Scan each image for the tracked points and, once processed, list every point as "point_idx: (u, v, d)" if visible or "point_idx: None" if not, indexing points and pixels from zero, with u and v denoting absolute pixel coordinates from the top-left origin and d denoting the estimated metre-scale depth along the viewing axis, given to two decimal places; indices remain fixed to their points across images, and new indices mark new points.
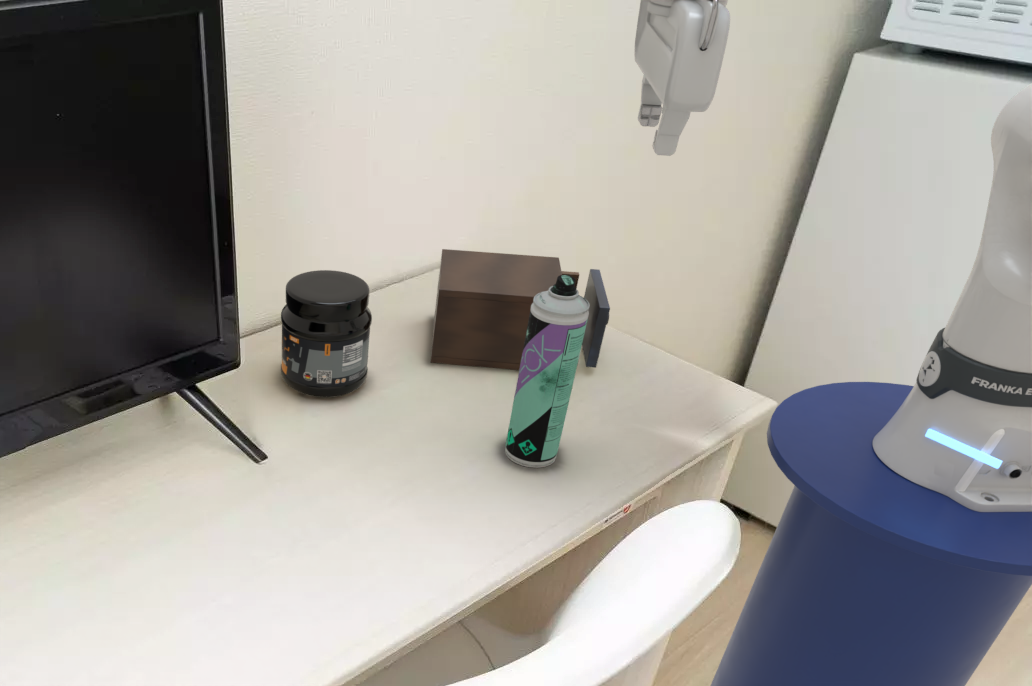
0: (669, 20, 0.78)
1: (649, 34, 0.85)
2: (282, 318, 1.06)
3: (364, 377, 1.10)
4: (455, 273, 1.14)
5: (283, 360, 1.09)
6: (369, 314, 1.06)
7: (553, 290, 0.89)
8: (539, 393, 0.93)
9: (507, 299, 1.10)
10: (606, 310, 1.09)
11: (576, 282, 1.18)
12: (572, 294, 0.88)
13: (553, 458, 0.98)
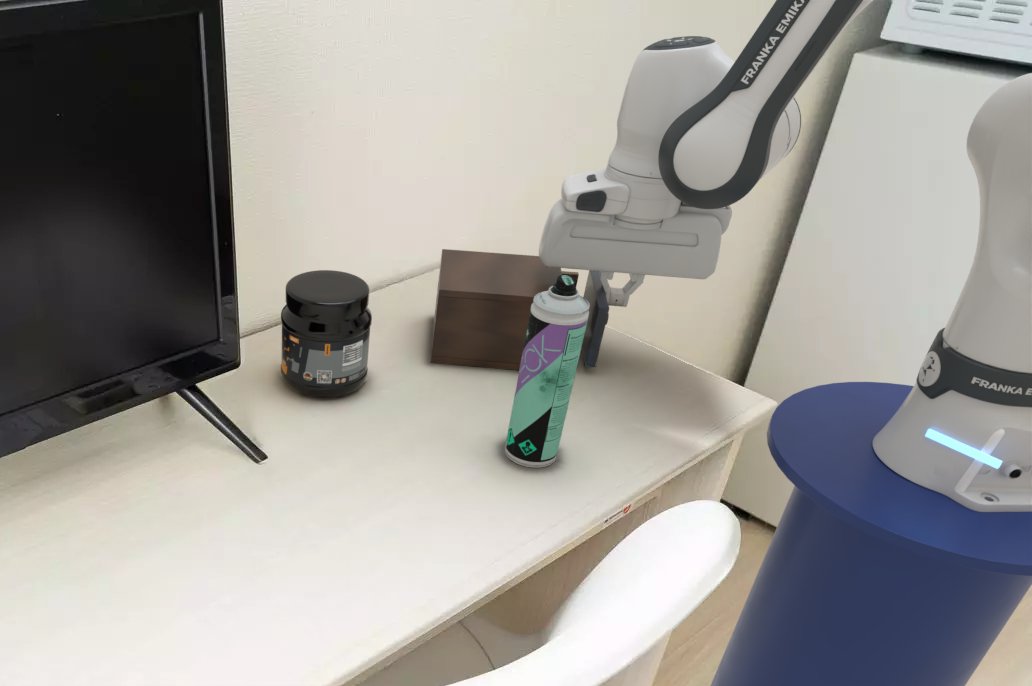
0: (665, 229, 1.06)
1: (595, 244, 1.09)
2: (282, 318, 1.06)
3: (364, 377, 1.10)
4: (455, 273, 1.14)
5: (283, 360, 1.09)
6: (369, 314, 1.06)
7: (553, 290, 0.89)
8: (539, 393, 0.93)
9: (507, 299, 1.10)
10: (605, 310, 1.09)
11: (575, 282, 1.18)
12: (572, 294, 0.88)
13: (553, 458, 0.98)
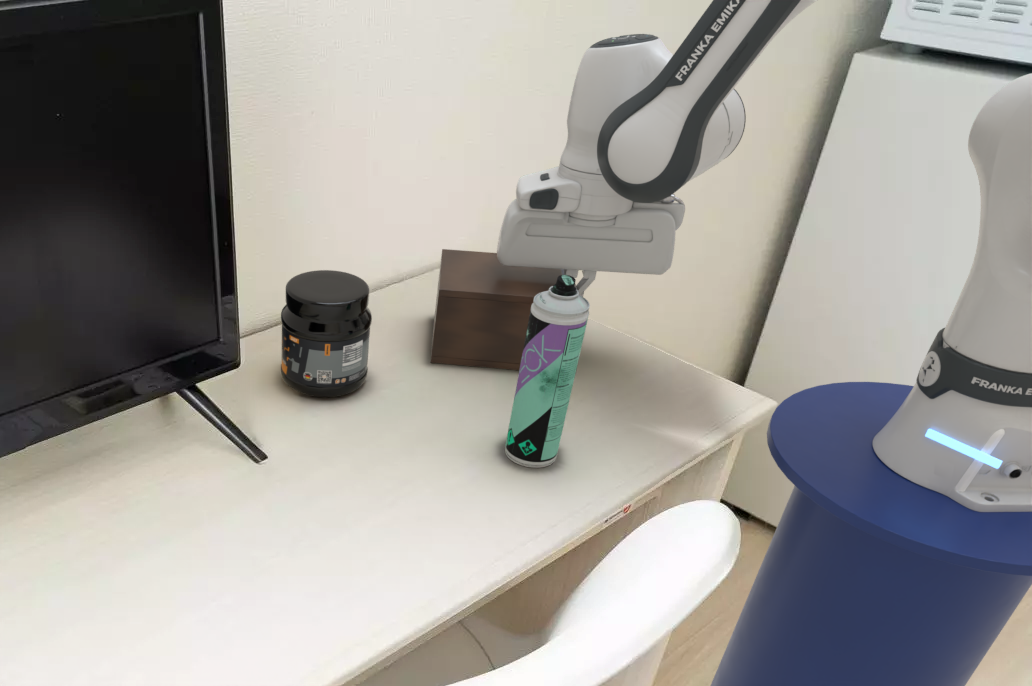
0: (620, 225, 1.07)
1: (551, 242, 1.10)
2: (282, 318, 1.06)
3: (364, 377, 1.10)
4: (455, 273, 1.14)
5: (283, 360, 1.09)
6: (369, 314, 1.06)
7: (553, 290, 0.89)
8: (539, 393, 0.93)
9: (507, 299, 1.10)
10: None
11: None
12: (572, 294, 0.88)
13: (553, 458, 0.98)
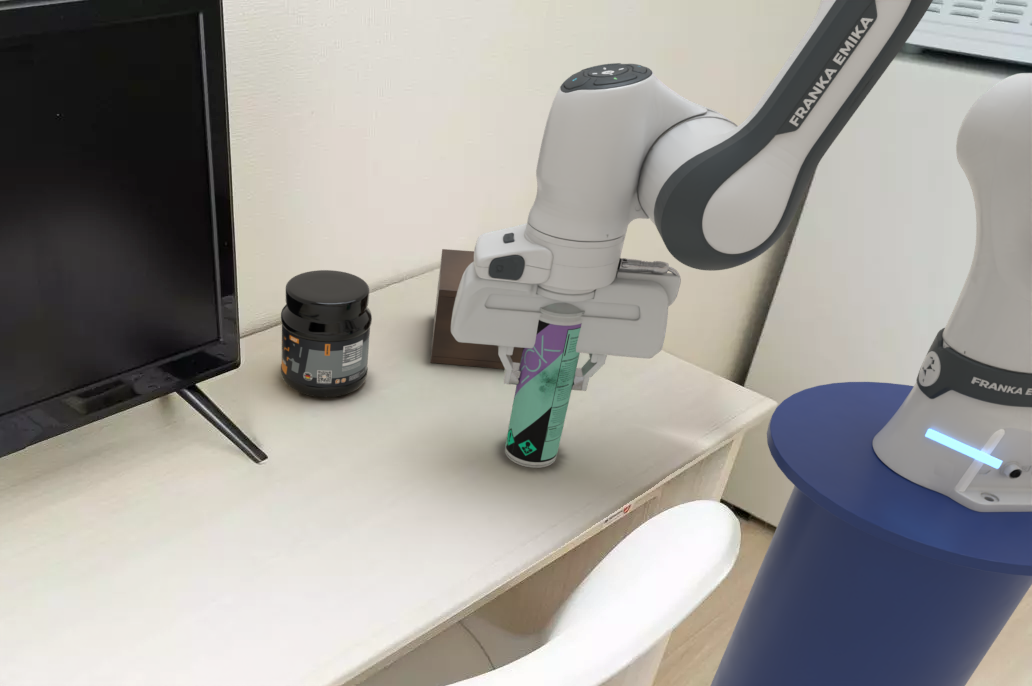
0: (600, 300, 0.87)
1: (516, 316, 0.89)
2: (282, 318, 1.06)
3: (364, 377, 1.10)
4: (455, 273, 1.14)
5: (283, 360, 1.09)
6: (369, 314, 1.06)
7: None
8: (539, 393, 0.93)
9: None
10: None
11: None
12: None
13: (553, 458, 0.98)
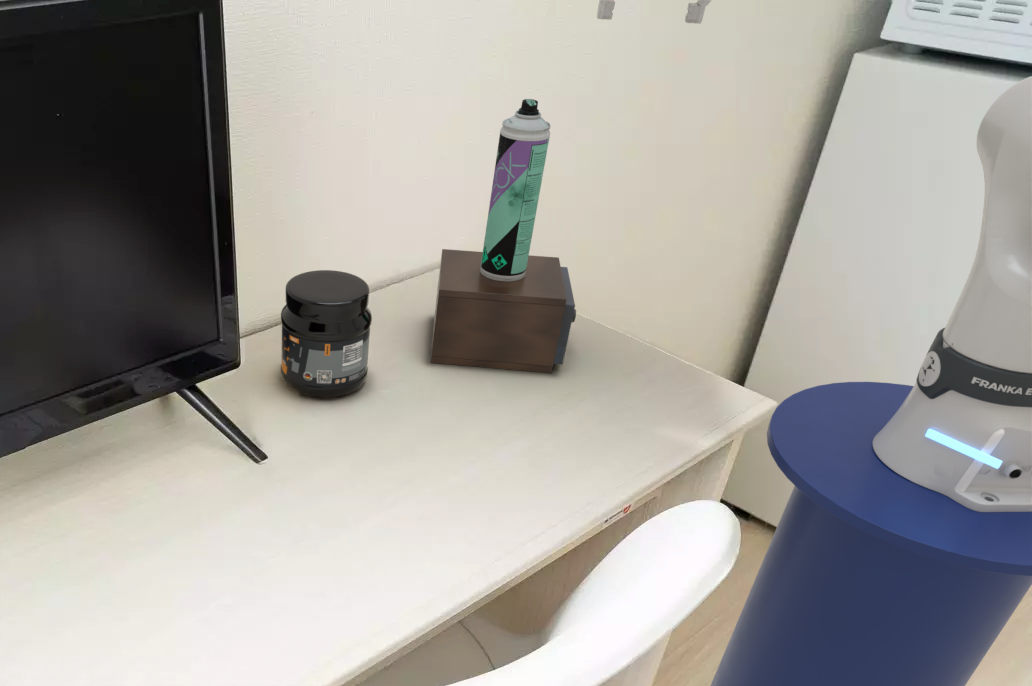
0: None
1: None
2: (282, 318, 1.06)
3: (364, 377, 1.10)
4: (455, 273, 1.14)
5: (283, 360, 1.09)
6: (369, 314, 1.06)
7: (519, 112, 1.03)
8: (508, 208, 1.07)
9: (507, 299, 1.10)
10: (571, 308, 1.10)
11: None
12: (535, 114, 1.02)
13: (522, 273, 1.12)
